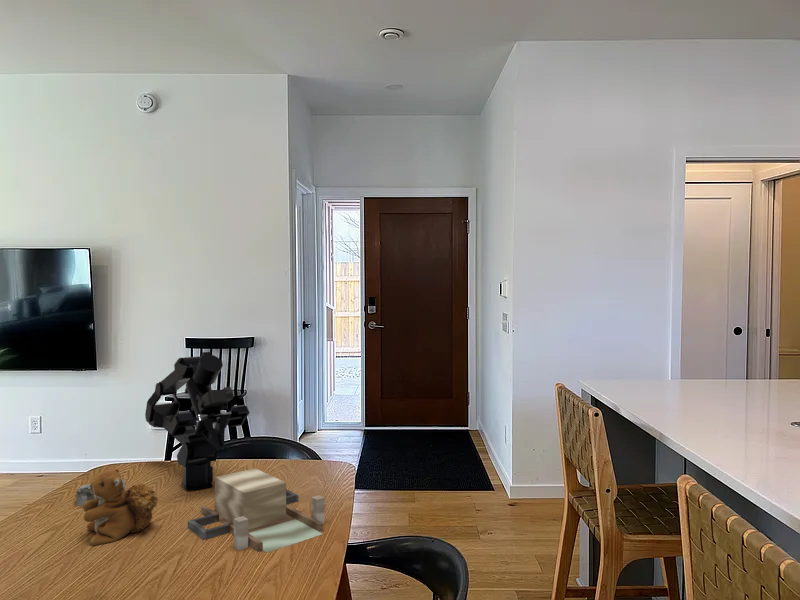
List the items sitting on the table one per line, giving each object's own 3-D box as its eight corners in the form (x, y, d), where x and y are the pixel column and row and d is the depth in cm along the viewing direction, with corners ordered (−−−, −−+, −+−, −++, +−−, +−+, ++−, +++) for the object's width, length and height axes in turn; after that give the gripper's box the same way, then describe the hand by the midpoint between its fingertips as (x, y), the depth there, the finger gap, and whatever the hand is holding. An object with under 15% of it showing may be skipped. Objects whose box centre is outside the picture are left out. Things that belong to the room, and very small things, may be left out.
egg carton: (73, 509, 132) (73, 491, 132) (77, 498, 139) (77, 481, 139) (124, 502, 136) (124, 485, 136) (126, 492, 143) (126, 476, 143)
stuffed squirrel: (84, 529, 120) (84, 467, 119) (157, 518, 125) (157, 459, 125) (80, 548, 110) (80, 481, 110) (158, 536, 116) (159, 472, 116)
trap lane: (176, 521, 124) (176, 494, 124) (280, 494, 141) (281, 470, 141) (234, 566, 104) (235, 533, 103) (348, 527, 121) (348, 499, 121)
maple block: (214, 512, 128) (214, 477, 128) (254, 501, 135) (255, 468, 135) (244, 531, 118) (244, 492, 118) (285, 518, 125) (286, 482, 125)
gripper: (174, 380, 135) (192, 435, 126) (246, 373, 147) (267, 423, 139) (161, 408, 140) (178, 462, 132) (232, 400, 153) (251, 448, 145)
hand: (221, 448), depth 137 cm, fingers closed
